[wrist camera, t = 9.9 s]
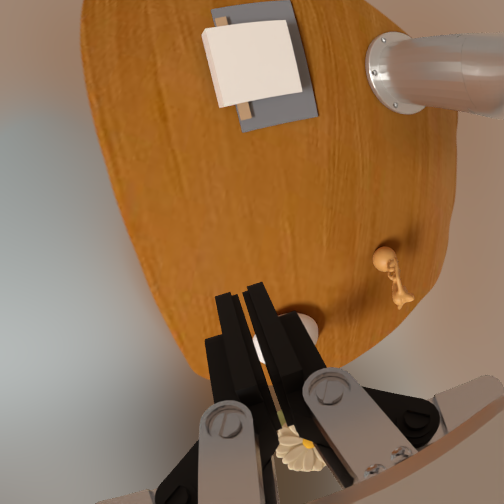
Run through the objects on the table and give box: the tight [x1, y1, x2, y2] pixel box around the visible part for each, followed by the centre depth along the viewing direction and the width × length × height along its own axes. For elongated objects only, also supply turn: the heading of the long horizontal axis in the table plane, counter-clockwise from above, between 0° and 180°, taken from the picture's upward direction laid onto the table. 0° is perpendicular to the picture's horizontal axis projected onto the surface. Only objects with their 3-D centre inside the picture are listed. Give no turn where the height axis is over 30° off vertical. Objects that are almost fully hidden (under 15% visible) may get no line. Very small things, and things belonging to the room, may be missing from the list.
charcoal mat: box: [211, 0, 318, 132], centre depth 29 cm, size 10×16×1 cm, turn 13°
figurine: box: [373, 246, 414, 309], centre depth 40 cm, size 8×6×12 cm
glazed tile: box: [202, 20, 302, 108], centre depth 27 cm, size 3×9×9 cm
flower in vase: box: [253, 313, 326, 472], centre depth 38 cm, size 13×11×25 cm
